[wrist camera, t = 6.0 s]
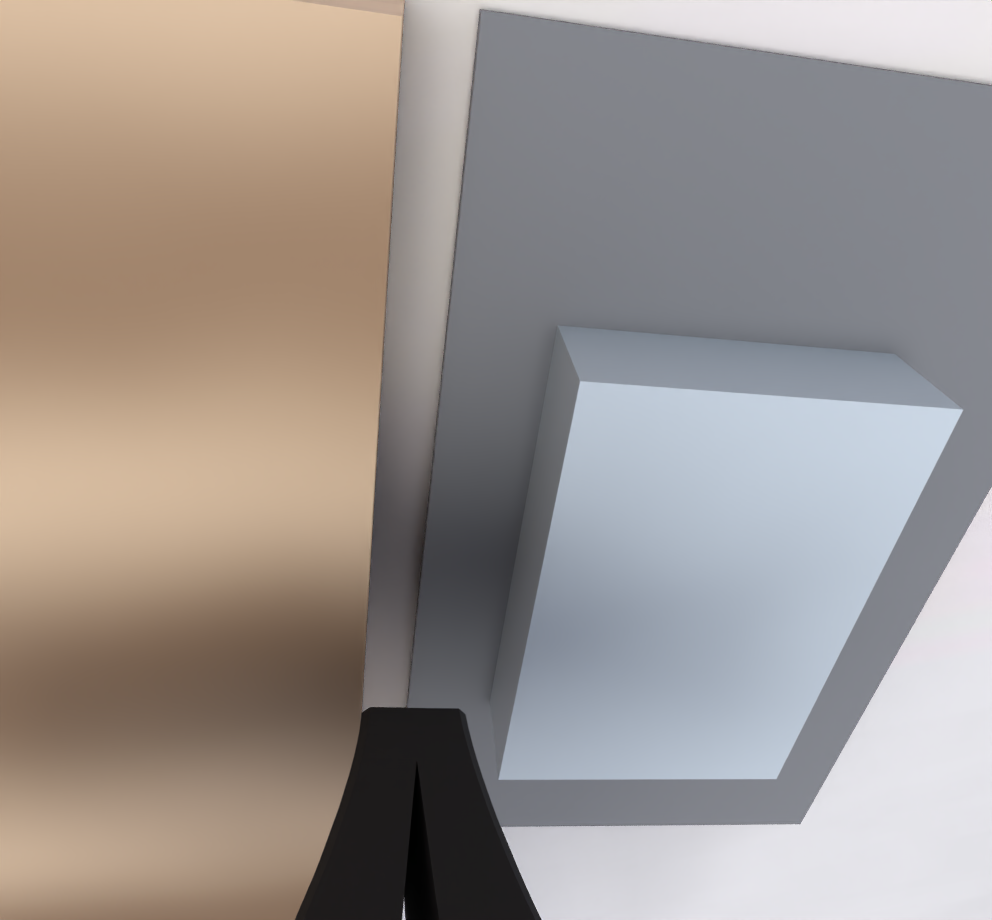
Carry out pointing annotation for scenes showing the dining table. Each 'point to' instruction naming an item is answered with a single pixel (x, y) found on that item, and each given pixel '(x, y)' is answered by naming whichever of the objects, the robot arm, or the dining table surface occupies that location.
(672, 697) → the tile
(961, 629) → the dining table surface
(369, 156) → the tan flat wooden block
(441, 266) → the dining table surface
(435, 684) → the mat
